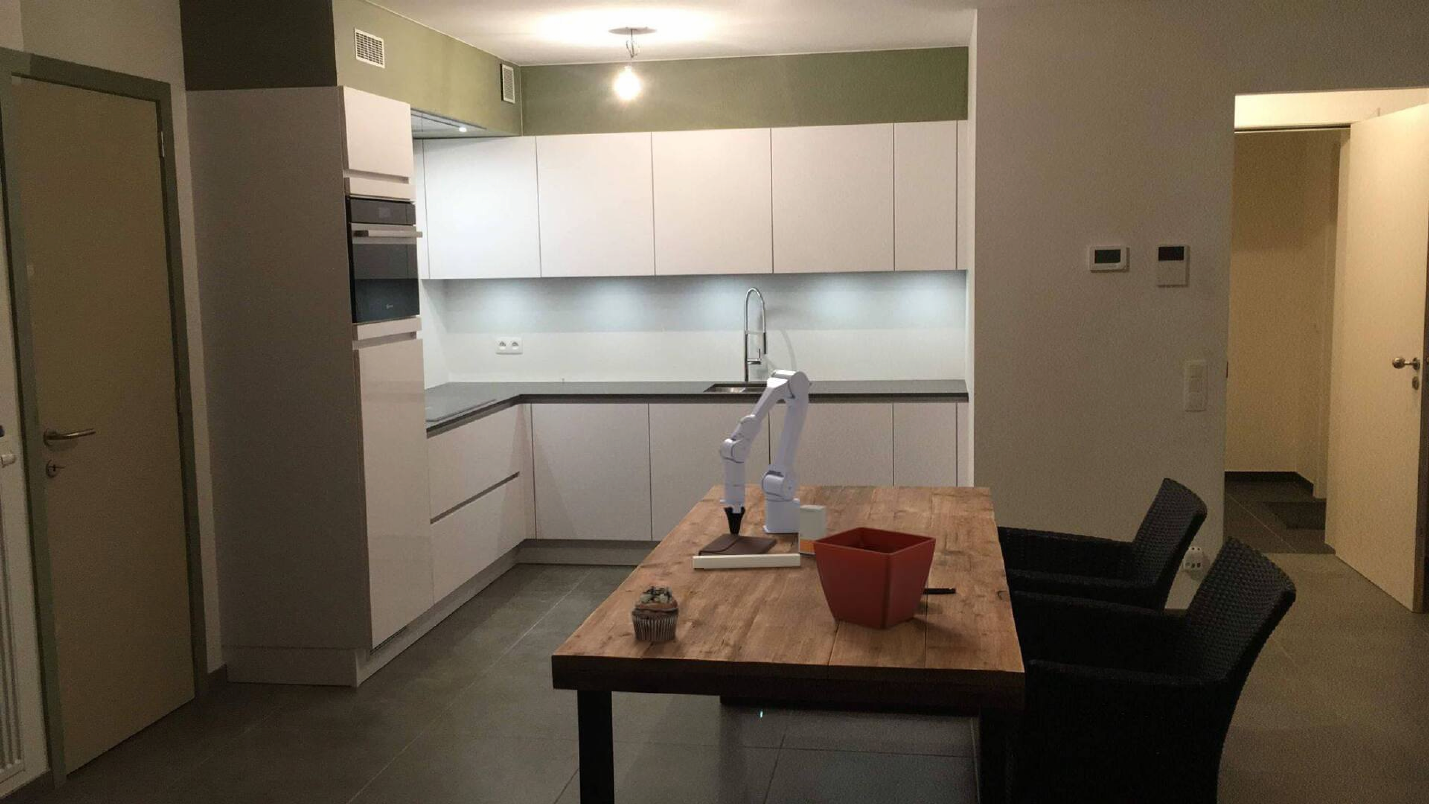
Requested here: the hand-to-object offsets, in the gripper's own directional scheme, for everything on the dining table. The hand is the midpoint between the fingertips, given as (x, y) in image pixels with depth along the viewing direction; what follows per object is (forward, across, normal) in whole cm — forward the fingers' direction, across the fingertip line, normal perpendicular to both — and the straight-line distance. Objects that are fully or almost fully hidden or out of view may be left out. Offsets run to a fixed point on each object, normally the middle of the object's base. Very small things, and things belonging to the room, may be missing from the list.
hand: (734, 534), depth 333 cm
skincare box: (+1, +18, +18) cm, 26 cm away
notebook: (+2, +12, 0) cm, 12 cm away
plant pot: (+1, +75, +22) cm, 78 cm away
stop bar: (+1, +30, 0) cm, 30 cm away
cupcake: (+1, +83, -24) cm, 87 cm away
